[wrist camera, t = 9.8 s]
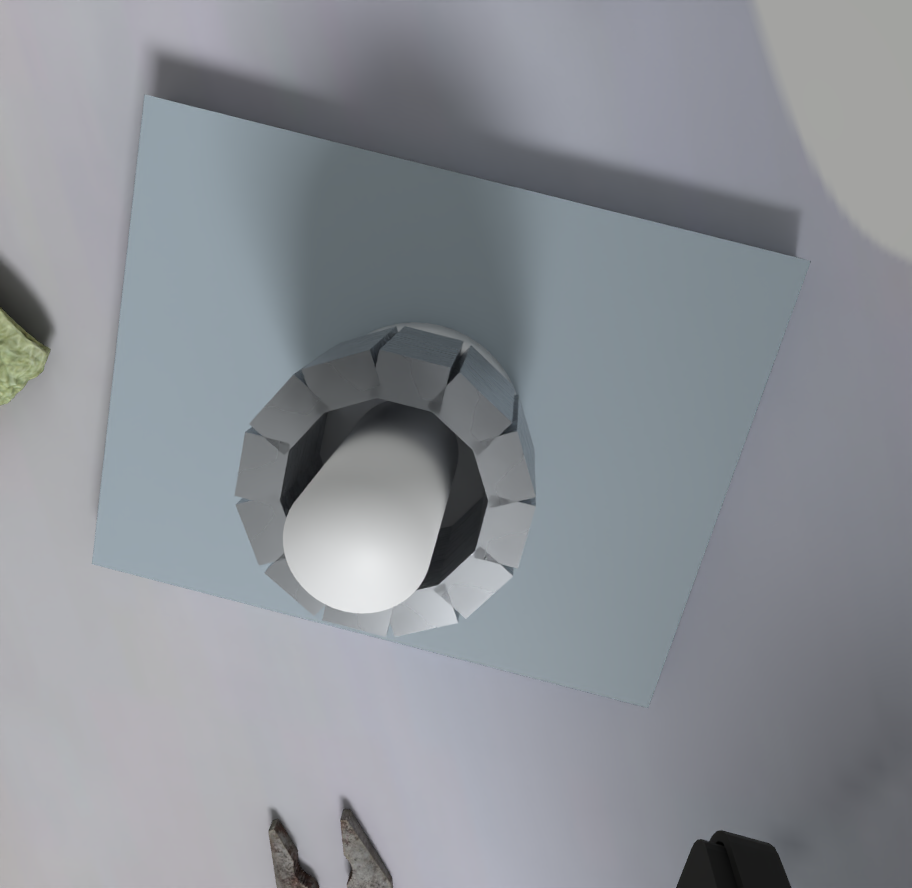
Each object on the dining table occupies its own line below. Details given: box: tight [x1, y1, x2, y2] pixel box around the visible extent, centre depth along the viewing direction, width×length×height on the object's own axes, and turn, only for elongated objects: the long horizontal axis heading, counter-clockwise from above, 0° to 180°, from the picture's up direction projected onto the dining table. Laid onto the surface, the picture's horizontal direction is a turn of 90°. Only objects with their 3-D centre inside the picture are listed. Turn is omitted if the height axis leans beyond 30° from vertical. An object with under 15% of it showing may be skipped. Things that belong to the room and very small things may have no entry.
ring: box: [234, 326, 536, 637], centre depth 19 cm, size 6×6×4 cm
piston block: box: [92, 95, 811, 708], centre depth 19 cm, size 18×14×10 cm
